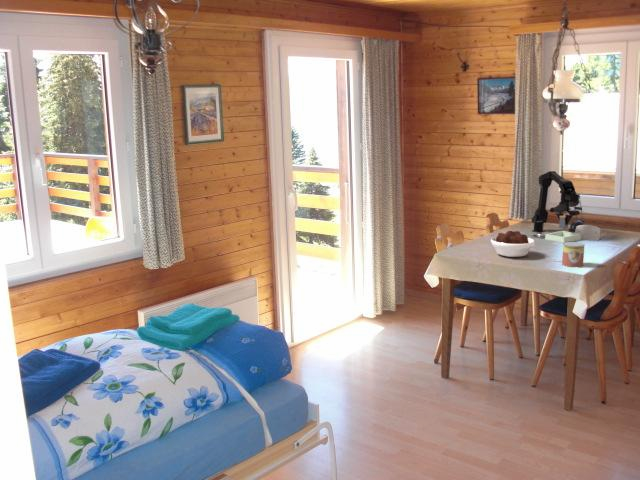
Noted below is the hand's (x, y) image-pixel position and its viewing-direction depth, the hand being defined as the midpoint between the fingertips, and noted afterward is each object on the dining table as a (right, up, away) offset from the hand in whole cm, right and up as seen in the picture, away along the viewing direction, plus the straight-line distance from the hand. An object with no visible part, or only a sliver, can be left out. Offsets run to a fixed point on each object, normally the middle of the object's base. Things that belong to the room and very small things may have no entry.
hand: (563, 224), depth 467 cm
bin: (0, -10, +2) cm, 10 cm away
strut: (0, -2, 0) cm, 3 cm away
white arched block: (+18, -9, +7) cm, 21 cm away
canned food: (-17, -24, -64) cm, 71 cm away
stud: (-11, -8, +13) cm, 19 cm away
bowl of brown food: (-44, -19, -40) cm, 62 cm away
